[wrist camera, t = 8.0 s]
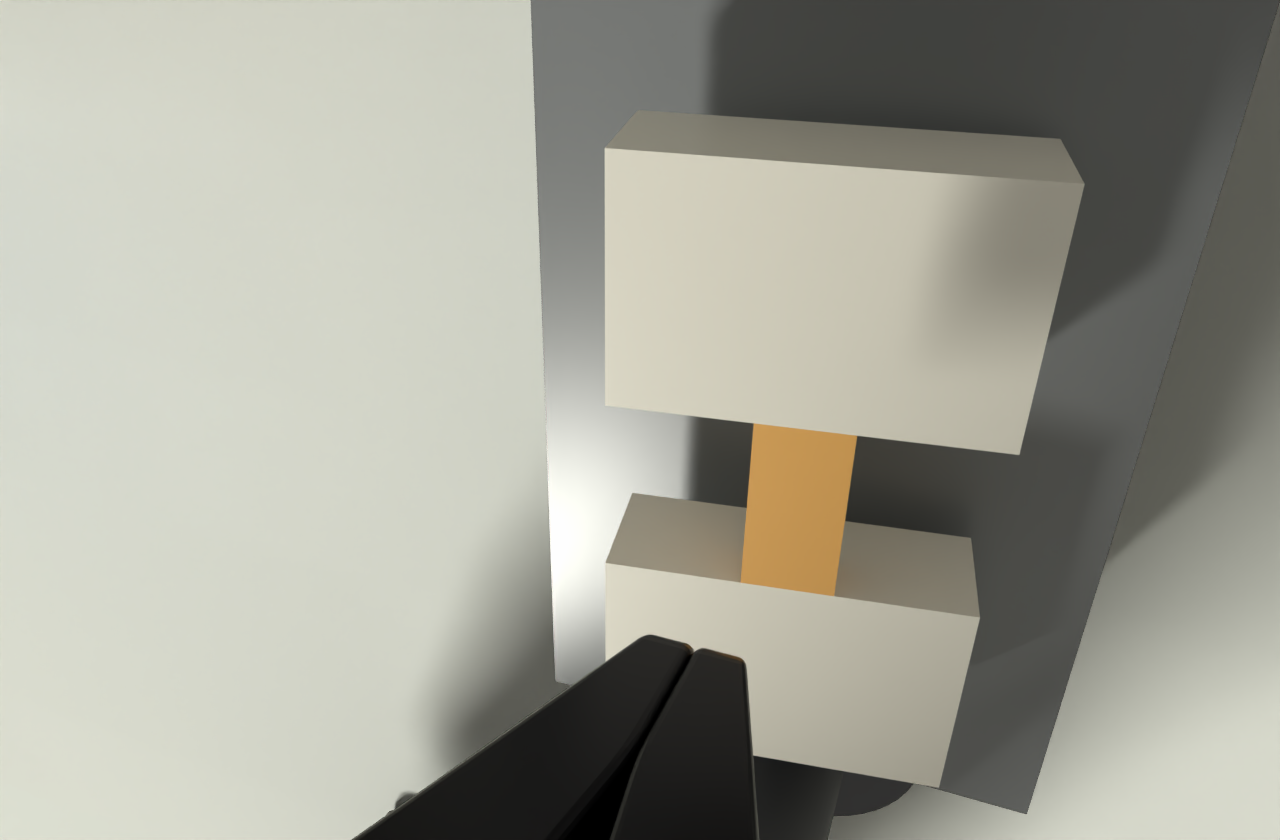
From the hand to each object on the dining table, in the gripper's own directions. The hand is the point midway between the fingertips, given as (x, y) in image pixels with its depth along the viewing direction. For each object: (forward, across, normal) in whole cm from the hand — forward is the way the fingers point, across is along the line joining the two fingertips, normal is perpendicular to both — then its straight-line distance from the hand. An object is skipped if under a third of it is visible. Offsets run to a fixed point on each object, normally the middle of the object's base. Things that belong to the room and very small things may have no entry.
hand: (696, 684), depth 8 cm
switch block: (+9, 0, 0) cm, 9 cm away
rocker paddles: (+4, 0, 0) cm, 4 cm away
